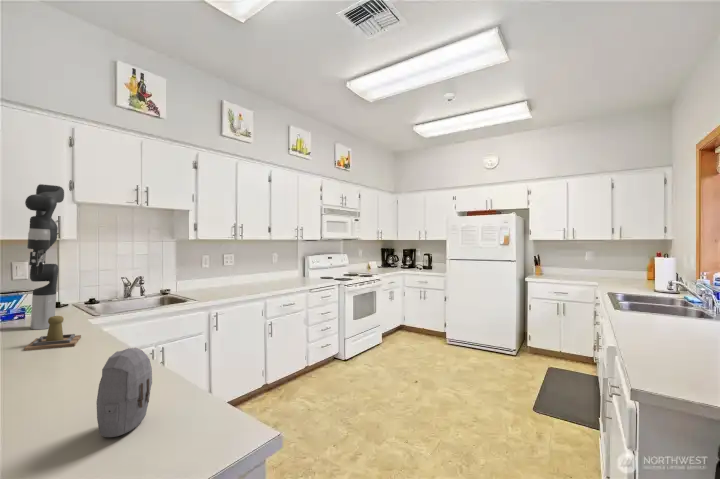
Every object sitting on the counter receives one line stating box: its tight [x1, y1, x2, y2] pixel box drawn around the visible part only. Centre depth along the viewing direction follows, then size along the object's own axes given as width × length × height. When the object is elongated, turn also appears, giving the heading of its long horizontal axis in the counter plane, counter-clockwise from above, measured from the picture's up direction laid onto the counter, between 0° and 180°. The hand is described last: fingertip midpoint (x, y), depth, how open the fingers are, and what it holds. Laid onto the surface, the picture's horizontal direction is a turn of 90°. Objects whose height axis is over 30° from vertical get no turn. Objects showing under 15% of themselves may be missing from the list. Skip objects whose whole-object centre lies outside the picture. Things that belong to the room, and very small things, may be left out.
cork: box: [46, 315, 64, 342], centre depth 154 cm, size 6×6×11 cm
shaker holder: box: [24, 333, 82, 352], centre depth 153 cm, size 16×16×2 cm
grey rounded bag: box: [96, 347, 153, 438], centre depth 87 cm, size 15×8×20 cm, turn 4°
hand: (36, 273), depth 159 cm, fingers open, 8 cm apart
